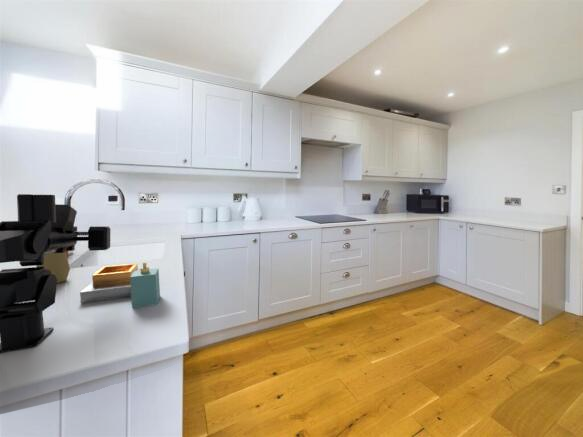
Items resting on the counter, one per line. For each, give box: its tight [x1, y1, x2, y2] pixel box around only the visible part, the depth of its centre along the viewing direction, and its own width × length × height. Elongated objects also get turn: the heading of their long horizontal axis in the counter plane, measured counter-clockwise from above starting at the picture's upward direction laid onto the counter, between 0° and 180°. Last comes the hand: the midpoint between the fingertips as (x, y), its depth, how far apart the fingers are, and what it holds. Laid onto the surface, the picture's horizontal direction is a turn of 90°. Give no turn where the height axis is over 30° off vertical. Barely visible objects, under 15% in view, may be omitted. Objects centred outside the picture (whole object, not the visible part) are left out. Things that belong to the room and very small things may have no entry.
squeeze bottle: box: [35, 251, 71, 284], centre depth 80 cm, size 8×8×18 cm
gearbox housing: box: [79, 263, 140, 304], centre depth 76 cm, size 19×12×6 cm, turn 21°
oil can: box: [130, 261, 161, 308], centre depth 66 cm, size 6×6×11 cm
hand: (82, 236), depth 71 cm, fingers open, 9 cm apart
